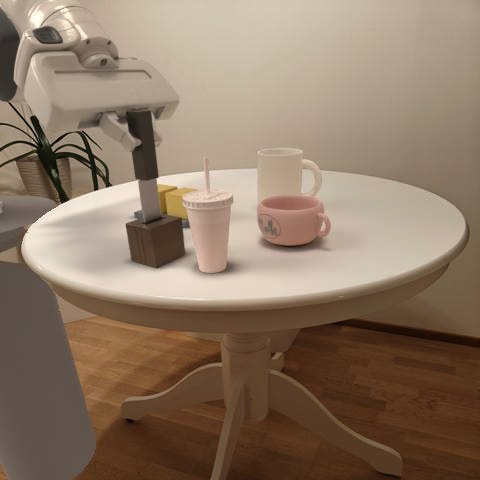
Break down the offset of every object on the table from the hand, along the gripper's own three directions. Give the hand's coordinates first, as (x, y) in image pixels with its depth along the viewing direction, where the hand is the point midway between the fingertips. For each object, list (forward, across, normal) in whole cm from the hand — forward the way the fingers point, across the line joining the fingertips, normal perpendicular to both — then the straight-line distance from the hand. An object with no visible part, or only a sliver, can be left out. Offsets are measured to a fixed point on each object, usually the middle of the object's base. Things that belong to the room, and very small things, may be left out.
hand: (146, 146), depth 53 cm
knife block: (+10, 0, -11) cm, 15 cm away
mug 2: (+20, -16, -1) cm, 26 cm away
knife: (+7, 0, -8) cm, 10 cm away
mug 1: (+13, -32, -9) cm, 35 cm away
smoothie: (+17, -1, -5) cm, 17 cm away
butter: (+2, -16, -20) cm, 26 cm away
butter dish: (+2, -16, -20) cm, 26 cm away
